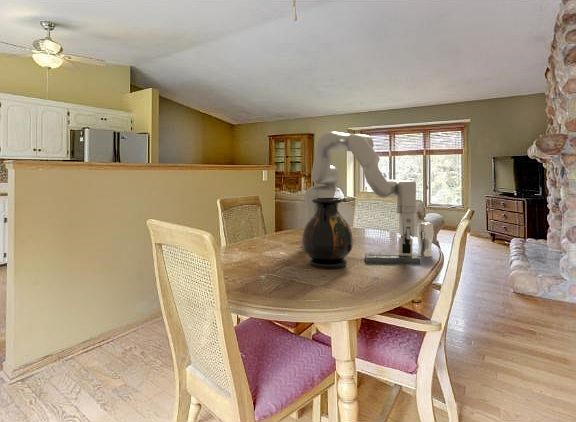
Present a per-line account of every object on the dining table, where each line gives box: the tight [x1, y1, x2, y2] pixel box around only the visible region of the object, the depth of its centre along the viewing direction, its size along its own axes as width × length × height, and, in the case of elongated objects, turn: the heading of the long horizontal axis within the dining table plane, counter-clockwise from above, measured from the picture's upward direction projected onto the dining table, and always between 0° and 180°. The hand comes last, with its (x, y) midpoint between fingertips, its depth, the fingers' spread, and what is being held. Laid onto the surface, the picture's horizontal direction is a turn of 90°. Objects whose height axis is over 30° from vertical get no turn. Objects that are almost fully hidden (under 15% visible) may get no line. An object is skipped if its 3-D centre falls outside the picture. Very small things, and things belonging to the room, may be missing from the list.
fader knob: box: [398, 237, 414, 256], centre depth 151 cm, size 5×4×7 cm
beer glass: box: [416, 221, 435, 258], centre depth 161 cm, size 7×7×15 cm
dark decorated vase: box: [301, 197, 354, 270], centre depth 148 cm, size 22×22×28 cm
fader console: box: [364, 252, 422, 265], centre depth 153 cm, size 22×9×3 cm, turn 82°
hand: (405, 251), depth 152 cm, fingers closed on fader knob, 4 cm apart
